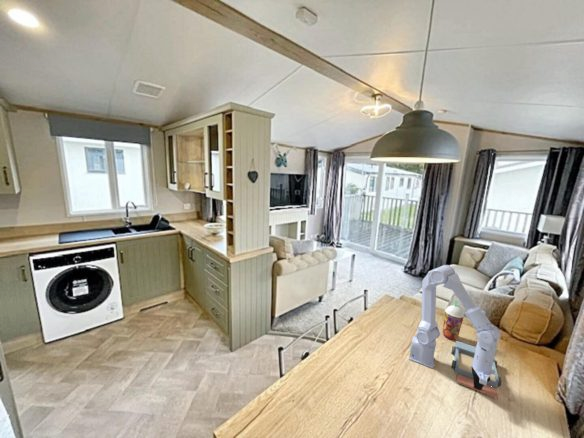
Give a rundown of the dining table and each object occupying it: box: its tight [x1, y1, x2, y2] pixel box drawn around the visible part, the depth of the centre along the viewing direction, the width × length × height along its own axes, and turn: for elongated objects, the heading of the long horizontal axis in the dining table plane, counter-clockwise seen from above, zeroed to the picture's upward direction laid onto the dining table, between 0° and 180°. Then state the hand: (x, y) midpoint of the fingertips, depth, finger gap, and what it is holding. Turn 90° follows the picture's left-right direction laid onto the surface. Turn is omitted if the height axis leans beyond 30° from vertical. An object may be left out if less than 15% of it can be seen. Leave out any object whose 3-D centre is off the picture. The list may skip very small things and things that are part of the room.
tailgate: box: [456, 373, 499, 399], centre depth 101 cm, size 13×1×6 cm
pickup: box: [451, 340, 502, 389], centre depth 111 cm, size 16×17×5 cm
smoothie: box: [442, 300, 465, 341], centre depth 130 cm, size 8×8×20 cm
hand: (477, 388), depth 99 cm, fingers closed
